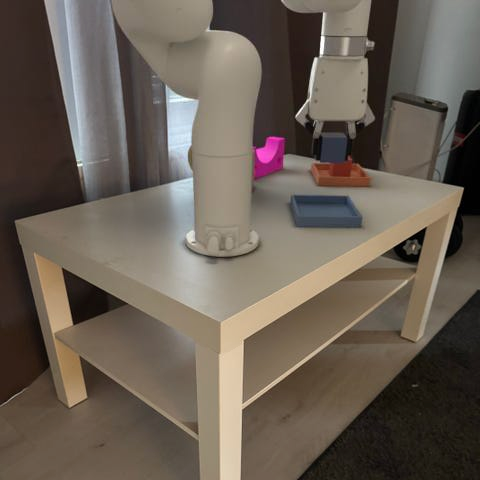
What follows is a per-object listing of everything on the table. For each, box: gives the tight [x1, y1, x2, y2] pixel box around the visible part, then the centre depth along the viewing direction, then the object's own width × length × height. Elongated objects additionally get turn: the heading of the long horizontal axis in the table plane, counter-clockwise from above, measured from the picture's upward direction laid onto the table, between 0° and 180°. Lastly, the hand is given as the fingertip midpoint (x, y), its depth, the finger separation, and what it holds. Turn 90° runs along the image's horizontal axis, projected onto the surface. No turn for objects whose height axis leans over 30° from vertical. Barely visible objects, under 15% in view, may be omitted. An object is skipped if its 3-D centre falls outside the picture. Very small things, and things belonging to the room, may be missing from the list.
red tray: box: [310, 162, 371, 187], centre depth 120 cm, size 13×12×2 cm
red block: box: [329, 155, 353, 177], centre depth 119 cm, size 4×4×4 cm
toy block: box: [252, 136, 286, 180], centre depth 122 cm, size 15×6×8 cm, turn 144°
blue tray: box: [289, 194, 363, 228], centre depth 96 cm, size 13×12×2 cm
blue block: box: [318, 131, 348, 163], centre depth 90 cm, size 4×4×4 cm
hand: (330, 158), depth 91 cm, fingers closed on blue block, 4 cm apart
